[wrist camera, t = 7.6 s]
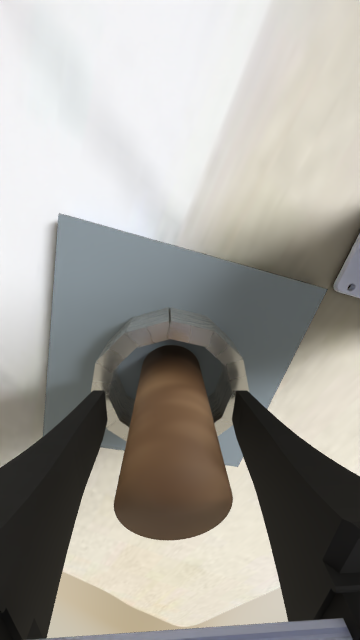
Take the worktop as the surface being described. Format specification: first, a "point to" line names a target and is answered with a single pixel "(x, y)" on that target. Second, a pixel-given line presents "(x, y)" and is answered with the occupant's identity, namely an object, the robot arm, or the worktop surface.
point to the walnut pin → (172, 453)
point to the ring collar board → (150, 284)
